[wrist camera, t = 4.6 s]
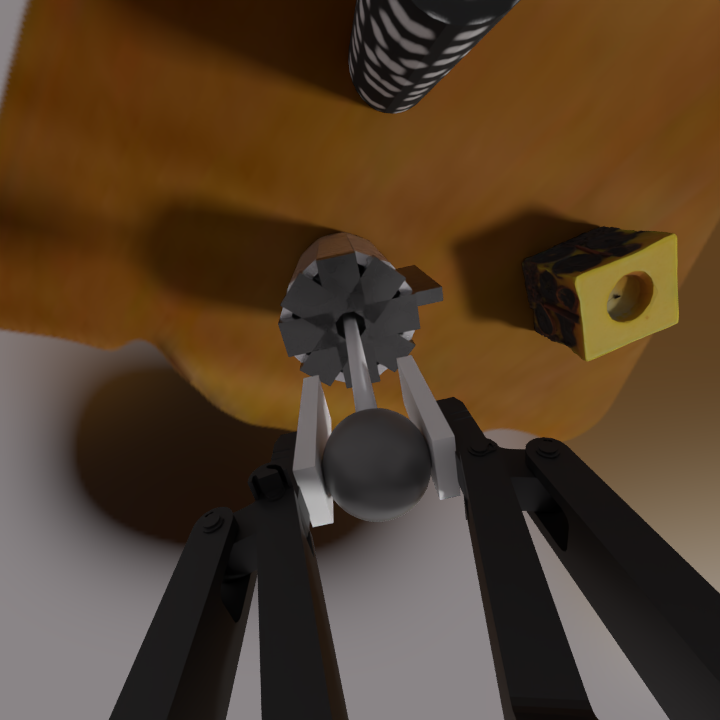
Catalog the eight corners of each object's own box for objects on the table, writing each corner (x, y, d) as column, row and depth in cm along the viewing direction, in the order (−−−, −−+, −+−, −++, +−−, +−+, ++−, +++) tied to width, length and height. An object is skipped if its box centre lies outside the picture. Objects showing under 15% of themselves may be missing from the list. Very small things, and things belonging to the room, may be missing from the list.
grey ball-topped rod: (295, 268, 32) (226, 436, 10) (378, 250, 32) (497, 377, 10) (316, 345, 35) (300, 599, 13) (391, 328, 35) (502, 556, 13)
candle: (534, 332, 46) (584, 365, 37) (518, 260, 42) (570, 278, 33) (610, 300, 45) (681, 326, 36) (602, 223, 41) (679, 231, 32)
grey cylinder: (285, 243, 39) (262, 272, 25) (403, 218, 39) (448, 232, 25) (309, 330, 44) (301, 398, 29) (414, 307, 43) (459, 364, 29)
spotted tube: (359, 123, 35) (395, 46, 17) (338, 13, 31) (355, -233, 13) (442, 101, 35) (567, 1, 17) (430, -11, 31) (573, -293, 13)
